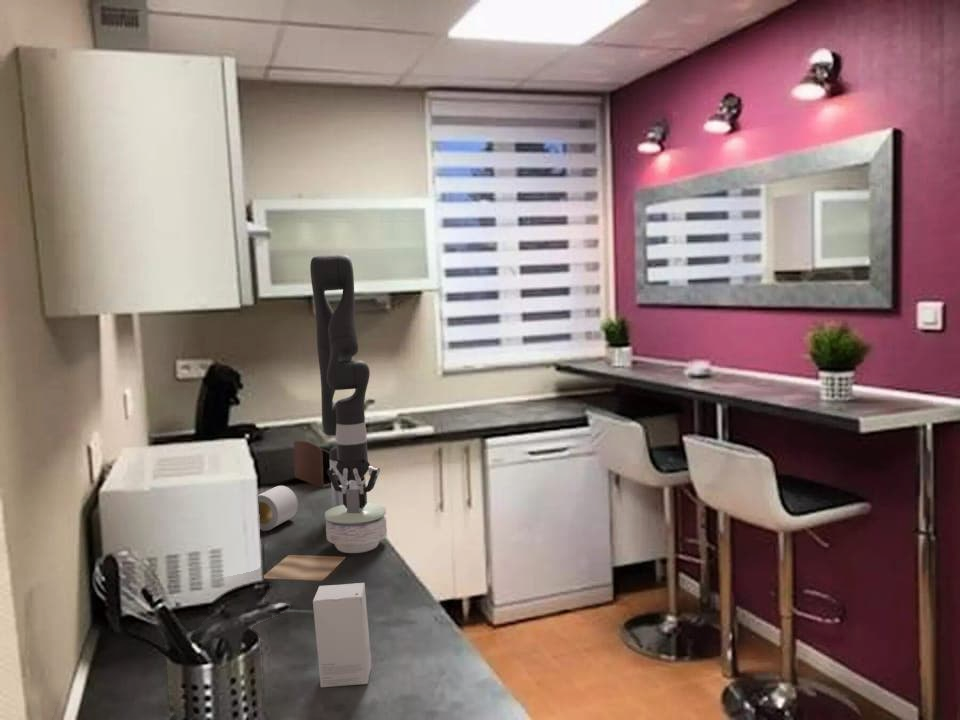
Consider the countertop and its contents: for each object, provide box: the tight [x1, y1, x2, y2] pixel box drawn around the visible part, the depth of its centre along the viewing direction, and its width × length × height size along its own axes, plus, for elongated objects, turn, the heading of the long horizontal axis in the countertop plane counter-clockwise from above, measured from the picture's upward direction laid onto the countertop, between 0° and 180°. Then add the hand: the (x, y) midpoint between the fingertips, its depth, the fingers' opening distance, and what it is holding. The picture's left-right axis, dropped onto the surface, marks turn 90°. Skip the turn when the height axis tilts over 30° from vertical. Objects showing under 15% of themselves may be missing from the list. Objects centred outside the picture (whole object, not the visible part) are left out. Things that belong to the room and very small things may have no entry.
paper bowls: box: [325, 514, 388, 554], centre depth 199 cm, size 15×15×8 cm
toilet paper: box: [258, 485, 299, 532], centre depth 221 cm, size 10×10×10 cm
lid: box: [324, 486, 387, 524], centre depth 199 cm, size 15×15×7 cm
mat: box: [263, 554, 347, 582], centre depth 186 cm, size 15×15×1 cm
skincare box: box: [312, 582, 372, 688], centre depth 134 cm, size 8×7×16 cm
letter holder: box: [293, 440, 331, 489], centre depth 269 cm, size 10×20×14 cm, turn 40°
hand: (355, 507), depth 199 cm, fingers closed on lid, 3 cm apart
